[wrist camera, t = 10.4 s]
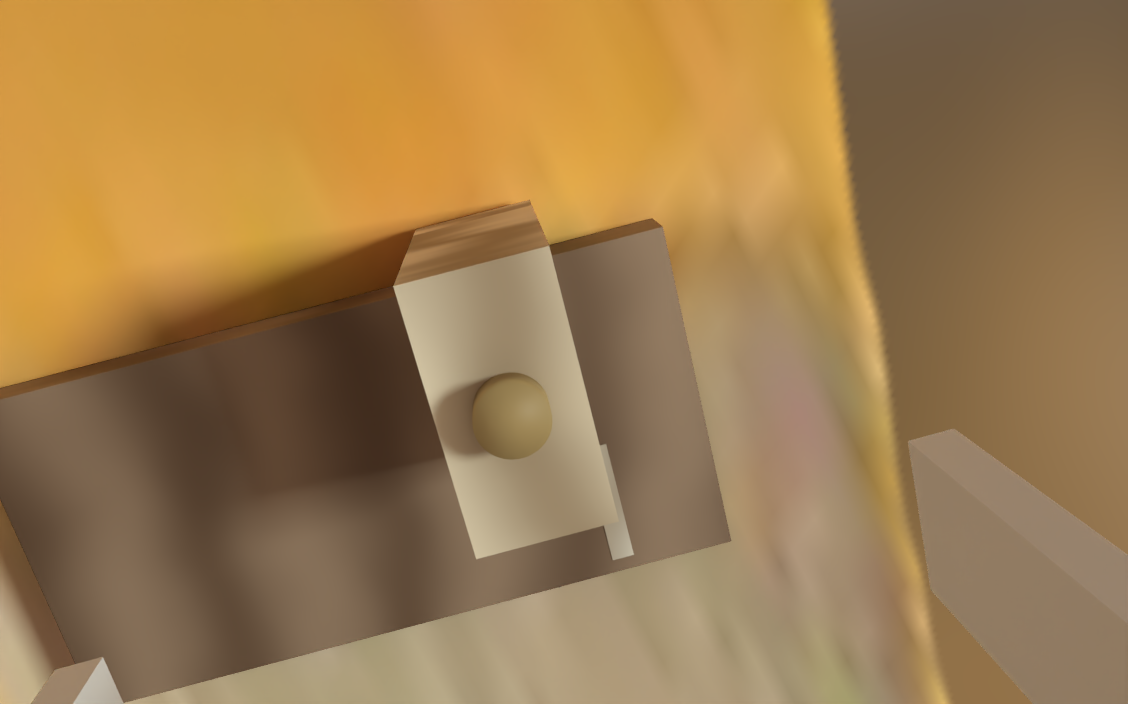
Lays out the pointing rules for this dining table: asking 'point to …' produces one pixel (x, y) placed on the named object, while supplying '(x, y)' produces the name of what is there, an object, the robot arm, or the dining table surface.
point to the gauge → (503, 379)
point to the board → (330, 478)
